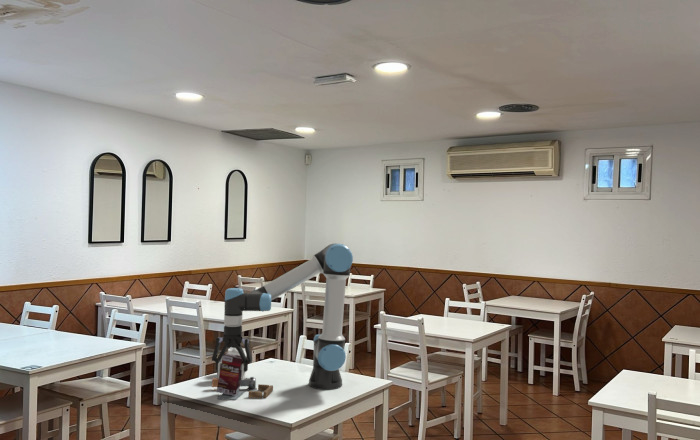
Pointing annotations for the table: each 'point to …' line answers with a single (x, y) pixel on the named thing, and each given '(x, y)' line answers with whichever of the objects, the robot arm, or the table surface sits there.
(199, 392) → the table surface
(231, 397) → the slate mat
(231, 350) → the cup
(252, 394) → the cradle
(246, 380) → the lever
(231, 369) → the supplement box
